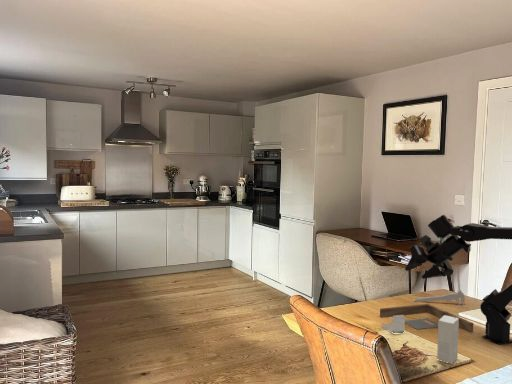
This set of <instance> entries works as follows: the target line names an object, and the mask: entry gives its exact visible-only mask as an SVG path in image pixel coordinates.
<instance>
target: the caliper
mask: <svg viewBox="0 0 512 384" xmlns="http://www.w3.org/2000/svg"><path fill="white" fill-rule="evenodd" d="M459 298H460V299H459ZM442 300H446V301H447V302H450V301H454V300H455V301H456V304H457V305H458V306H459V305H461V304H462V306H464V305H465V300H466V299H465V293H464V292H463V291H462V289H461V290H457V292H454V293H452V292H451V293H446V294H445V295H437V296H436V295H435V296H427V297H426V296H425V297H419V298H415V299H413V300H412V302H413V303H414V302H415V303H416V302H417V303H424V302H433V301H434V302H435V301H442ZM460 300H461V304H460Z"/></svg>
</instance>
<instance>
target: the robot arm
mask: <svg viewBox="0 0 512 384" xmlns="http://www.w3.org/2000/svg"><path fill="white" fill-rule="evenodd" d="M427 227H428V228H429V229H430V230H431V232H432V233H433V234H434V235H435V237H437V239H442V240H443V239H444V240H443V241H442V242H441V243H440V242H435V241H434V240H432V238H431V237H429V235H427V234H425V235H423V236H422V237H421V238H420V239H419V242H420V245H421V246H423V247H424V248H426V249H424V248H423V247H421V246H419V245H417V244H413V245H412V246H410V247H409V251H410V254H411V256H410V259H409V261H408V263H407V264H406V265H405V268H404V269H405V271H406V272H407V271H411V270H413V269H416V268H419V267H421V266H423V264H425V263H426V262H427V263H430V264H432V266H431V267H429V268H428V270H427V271H426V272H424V273H423V274H422V275H421V279H422V280H426V279H431V278H438V277H439V278H440V277H444V278H445V277H451V276H452V275H453V273H454V269H453V267H452V266H451V263H450V262H451V261H453V260H454V258H453V257H454V256H455V255H456V254H458V253H459V252H461V251H462V250H464V251H465V252H466V253H469V252H471V251H472V250H471V249H472V248H471V246H472V244H471V242H476V241H477V242H478V241H479V242H480V241H485V240H512V226H511V227H508V226H507V227H505V226H503V227H502V226H489V225H485V224H480V223H479V224H478V223H473V222H470V223H467V224H464V225H462V226H461V225H456V226H454V225H453V223H452V222H450V220H449V219H448V217H447V216H446V215H445V214H442V215H440V216H439V217H437V218H436V219H433V220H432V221H431V222H429V224H428V225H427ZM447 237H448V238H447ZM481 301H482V302H481V303H480V306H479V307H480V311H481V313H482V315H483V316H485V320H486V322H485V331H484V332H485V334H482V336H481V337H482V338H483V339H485V340H488V341H490V342H493V343H494V344H497V345H504V344H511V343H512V339H511V337H510V336H511V323H509V322H508V321H509V320H510V319H511V316H512V313H511V312H510V311H509V310H508V309H507V308H506V307H507V306H508V305H509V304H510V302H512V283H510V285H508V286H507V287H505V289H502V290H500V291H498V290H497V289H496V288H495V289H493V290H492V291H491V292H490V293H489V294H488V295H487V294H486V295H485V296H484V297H483V298H482V299H481Z"/></svg>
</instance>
